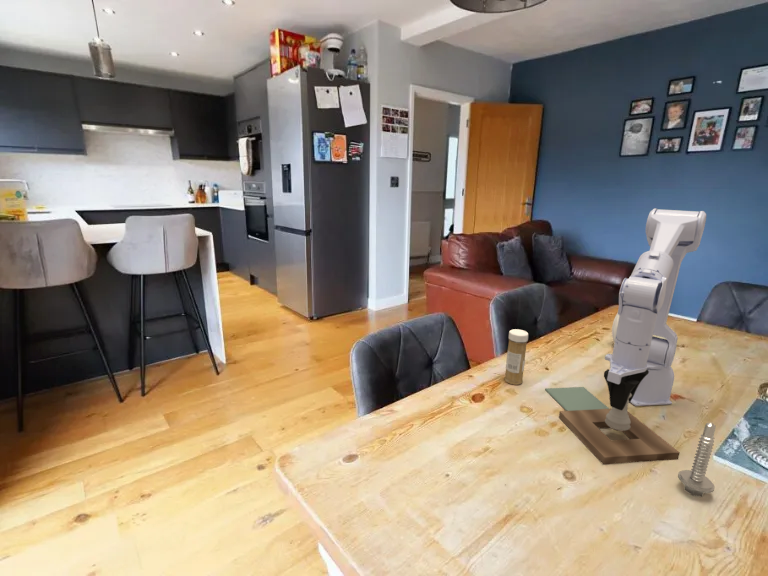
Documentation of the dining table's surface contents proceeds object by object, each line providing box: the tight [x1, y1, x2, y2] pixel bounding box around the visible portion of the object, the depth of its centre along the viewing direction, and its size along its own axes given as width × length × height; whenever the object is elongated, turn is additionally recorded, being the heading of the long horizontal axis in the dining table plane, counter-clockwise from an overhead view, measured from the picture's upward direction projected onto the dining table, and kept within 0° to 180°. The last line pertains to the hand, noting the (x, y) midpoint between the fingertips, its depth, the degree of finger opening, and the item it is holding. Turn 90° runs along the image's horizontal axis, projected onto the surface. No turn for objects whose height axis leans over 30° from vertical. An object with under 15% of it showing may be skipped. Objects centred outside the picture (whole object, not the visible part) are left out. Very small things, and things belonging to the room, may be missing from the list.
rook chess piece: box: [605, 393, 632, 432], centre depth 79 cm, size 4×4×8 cm
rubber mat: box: [544, 386, 610, 411], centre depth 94 cm, size 10×10×1 cm
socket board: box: [558, 408, 680, 465], centre depth 81 cm, size 15×15×2 cm
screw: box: [677, 422, 716, 498], centre depth 65 cm, size 13×5×5 cm
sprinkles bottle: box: [503, 328, 529, 386], centre depth 101 cm, size 5×5×13 cm
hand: (620, 404), depth 79 cm, fingers closed on rook chess piece, 3 cm apart
